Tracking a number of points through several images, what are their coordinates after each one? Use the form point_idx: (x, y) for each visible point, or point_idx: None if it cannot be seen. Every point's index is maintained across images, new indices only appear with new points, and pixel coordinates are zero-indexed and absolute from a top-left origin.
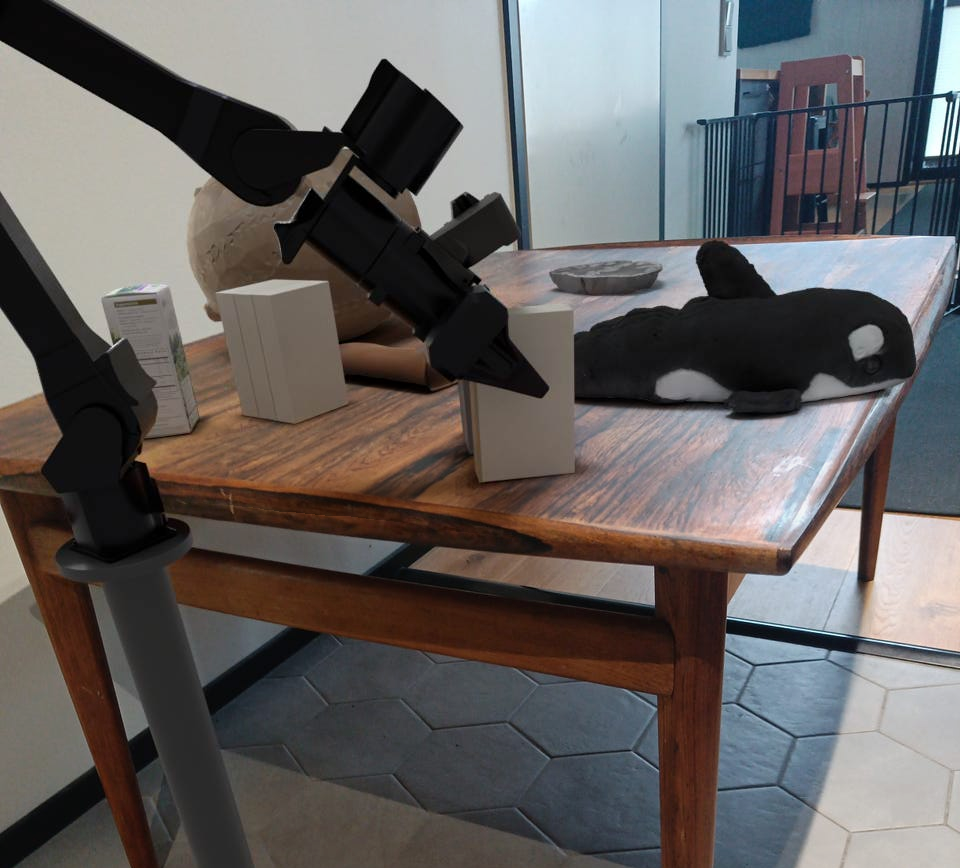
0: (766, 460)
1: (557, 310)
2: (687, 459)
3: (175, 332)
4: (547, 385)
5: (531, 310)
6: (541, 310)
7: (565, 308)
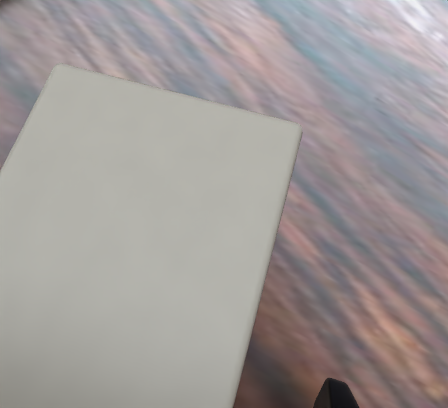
0: (372, 11)
1: (270, 223)
2: (298, 93)
3: None
4: (351, 393)
5: (124, 390)
6: (182, 318)
7: (239, 147)
